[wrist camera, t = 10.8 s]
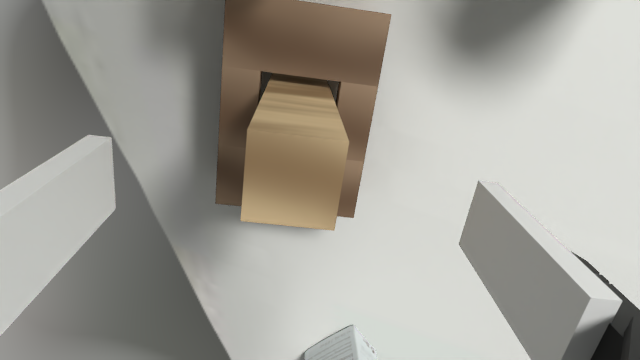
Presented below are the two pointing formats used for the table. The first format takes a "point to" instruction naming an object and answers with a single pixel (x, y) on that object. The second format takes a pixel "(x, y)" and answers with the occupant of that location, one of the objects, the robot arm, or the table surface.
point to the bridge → (299, 60)
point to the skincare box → (343, 347)
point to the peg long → (294, 155)
